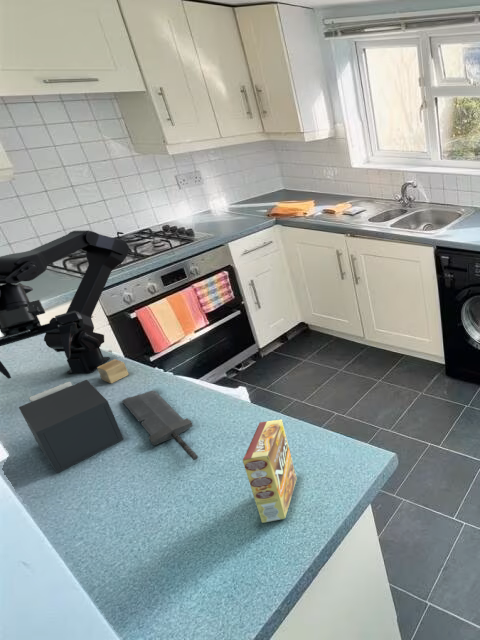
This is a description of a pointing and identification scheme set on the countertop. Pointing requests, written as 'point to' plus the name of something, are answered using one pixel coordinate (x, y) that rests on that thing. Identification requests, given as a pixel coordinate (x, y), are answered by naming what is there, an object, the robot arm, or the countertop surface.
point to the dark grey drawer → (50, 391)
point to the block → (112, 371)
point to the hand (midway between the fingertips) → (40, 367)
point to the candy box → (270, 470)
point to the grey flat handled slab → (159, 419)
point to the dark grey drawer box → (72, 424)
